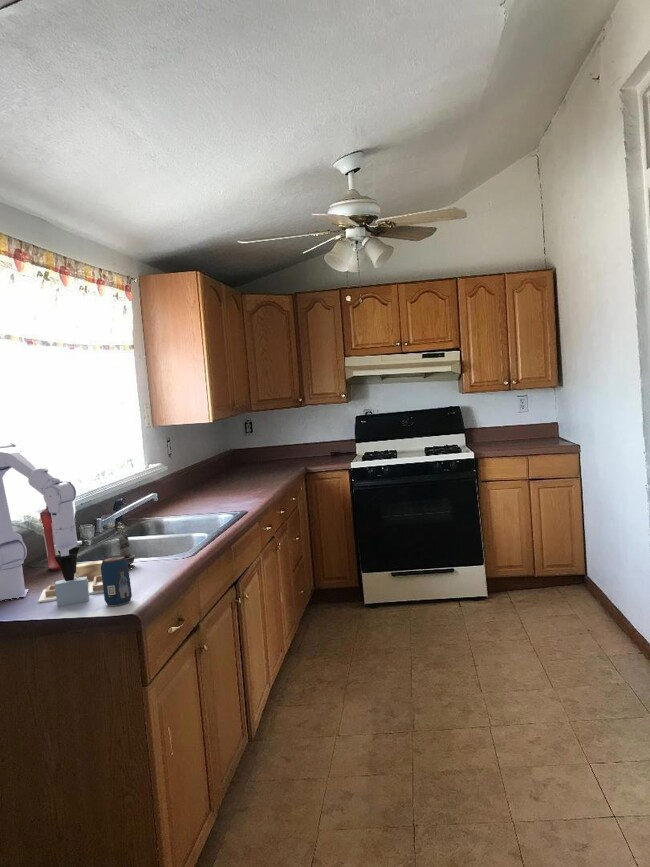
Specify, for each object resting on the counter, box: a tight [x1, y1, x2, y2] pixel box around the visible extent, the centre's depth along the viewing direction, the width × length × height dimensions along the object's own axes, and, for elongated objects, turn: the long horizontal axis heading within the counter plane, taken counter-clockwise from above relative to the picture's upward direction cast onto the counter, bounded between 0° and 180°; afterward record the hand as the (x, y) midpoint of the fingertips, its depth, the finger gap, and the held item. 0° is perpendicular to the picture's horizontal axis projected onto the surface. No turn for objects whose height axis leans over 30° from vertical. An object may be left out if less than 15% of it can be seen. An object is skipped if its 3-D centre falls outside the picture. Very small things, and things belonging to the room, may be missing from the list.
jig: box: [37, 575, 104, 604], centre depth 204 cm, size 21×13×2 cm, turn 105°
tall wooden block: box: [75, 560, 102, 582], centre depth 216 cm, size 9×4×5 cm, turn 105°
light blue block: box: [54, 576, 90, 607], centre depth 193 cm, size 8×4×6 cm, turn 105°
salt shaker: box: [118, 530, 136, 570], centre depth 226 cm, size 6×6×12 cm
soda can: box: [101, 554, 133, 607], centre depth 187 cm, size 7×7×12 cm
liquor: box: [39, 503, 61, 571], centre depth 235 cm, size 7×7×28 cm
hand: (70, 577), depth 193 cm, fingers open, 7 cm apart
